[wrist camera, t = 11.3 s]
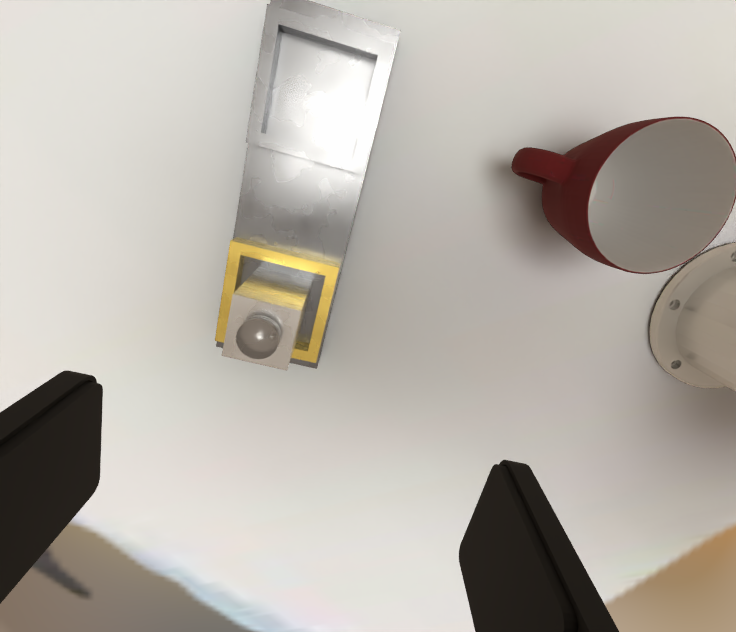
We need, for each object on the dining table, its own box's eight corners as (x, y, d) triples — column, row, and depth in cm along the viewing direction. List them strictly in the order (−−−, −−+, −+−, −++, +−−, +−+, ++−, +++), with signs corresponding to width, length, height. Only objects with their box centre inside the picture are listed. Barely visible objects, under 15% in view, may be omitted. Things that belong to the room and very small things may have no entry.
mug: (471, 225, 32) (520, 249, 23) (504, 111, 29) (575, 85, 20) (598, 253, 33) (695, 287, 24) (641, 145, 31) (769, 136, 21)
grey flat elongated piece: (397, 39, 28) (403, 22, 24) (318, 357, 35) (315, 377, 32) (278, 1, 27) (267, -22, 24) (223, 336, 34) (209, 354, 31)
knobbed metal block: (312, 280, 31) (298, 316, 24) (300, 329, 32) (284, 378, 25) (258, 266, 31) (227, 299, 23) (249, 316, 32) (216, 362, 24)
